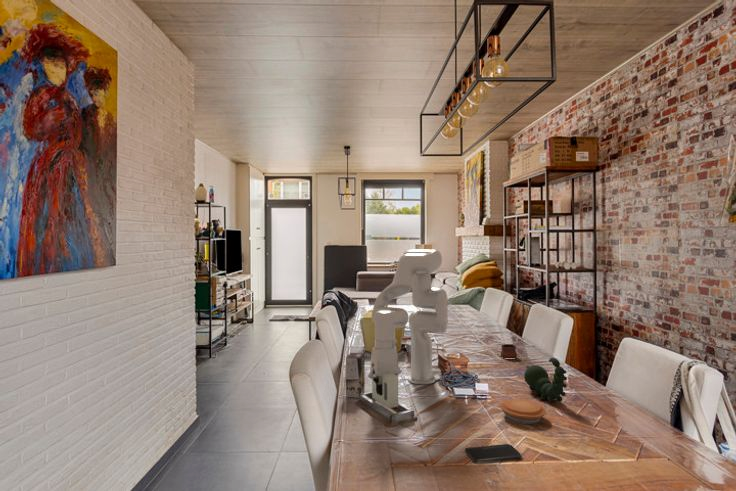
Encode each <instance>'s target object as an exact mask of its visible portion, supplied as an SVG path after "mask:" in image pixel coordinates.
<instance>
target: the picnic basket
mask: <svg viewBox="0 0 736 491" xmlns="http://www.w3.org/2000/svg"><path fill="white" fill-rule="evenodd" d="M388 304H389V302H388V303H387V304H386V306H385V307H389V306H388ZM372 311H373V309H369V310H368V311H367V312H366V313H365V314H364V315H363V316H362V318H360V319H359V324H360V330H361V336H362V341H363V346H364V349H365V351H367V352H368V353H372V349H373V348H374V347H375V324H374V323H373V321H372ZM405 330H406V325H405V326H404V327H402V328H395V340H397V343H395V347H396V349H397V353H399V352H400V351H401V349H402V342H403V339H404V336H405Z"/></svg>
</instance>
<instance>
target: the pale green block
mask: <svg viewBox="0 0 736 491" xmlns="http://www.w3.org/2000/svg"><path fill="white" fill-rule="evenodd" d="M373 376H374V377H375V376H376V375H375V374H374V375H373ZM371 380H372V379H371ZM371 383H372V385H371V388H372V389H371V392H372V398H373V399H375V400H377V401H378V402H380V403H381V404H383V405H384V406H386V407H388V408H393V407H397V406H398V401H399V375H396V374H393V373H389V374H384V375H383V376H382V381H381V384H382V395H381V396H380V395H379V394H377V392H376V383H375V382H374V381H373V380H372V381H371Z"/></svg>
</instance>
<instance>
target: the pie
mask: <svg viewBox="0 0 736 491" xmlns="http://www.w3.org/2000/svg"><path fill="white" fill-rule="evenodd" d="M499 404H500V405H499V407H500V409H501V411H502V412H503V414H504V415H505V417H506V418H507V419H508V420H509V421H511V422H513V423H517V424H522V425H534V424H538V423H539V422H540V421H541V419H542V417H543V416H545V415H546V414H547V409H546V408H545V407H544V406H543V405H541V404H539V403H537V402H536V401H533V400H530V399H529V400H528V399H524V398H523V399H522V398H511V399H507V400H505V401H502V402H501V403H499Z"/></svg>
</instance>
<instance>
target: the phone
mask: <svg viewBox="0 0 736 491" xmlns="http://www.w3.org/2000/svg"><path fill="white" fill-rule="evenodd" d="M464 452H465V454H466V456H468V458H469V459H470V460H471V461H472V462H473V463H474V464H489V463H497V462H498V463H500V462H507V461H508V462H509V461H515V460H516V461H518V460H522V459H523V454H521V452H519V451H518V450H517V449H516V448H515V447H514V446H513V445H511V444H509V443H506V444H505V443H504V444H495V445H494V444H493V445H483V446H482V445H481V446H473V447H472V446H471V447H465V448H464Z"/></svg>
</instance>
